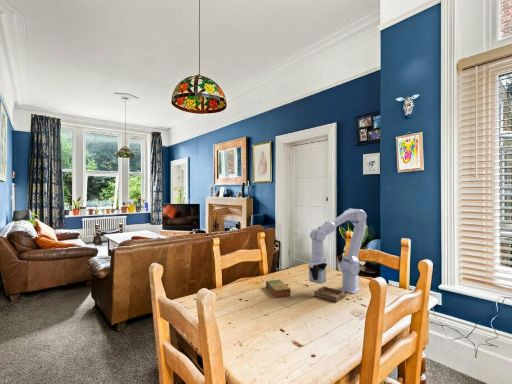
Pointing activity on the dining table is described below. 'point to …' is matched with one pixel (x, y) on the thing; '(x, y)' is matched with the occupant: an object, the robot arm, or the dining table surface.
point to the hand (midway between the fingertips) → (318, 278)
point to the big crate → (329, 294)
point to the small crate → (321, 276)
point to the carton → (278, 288)
